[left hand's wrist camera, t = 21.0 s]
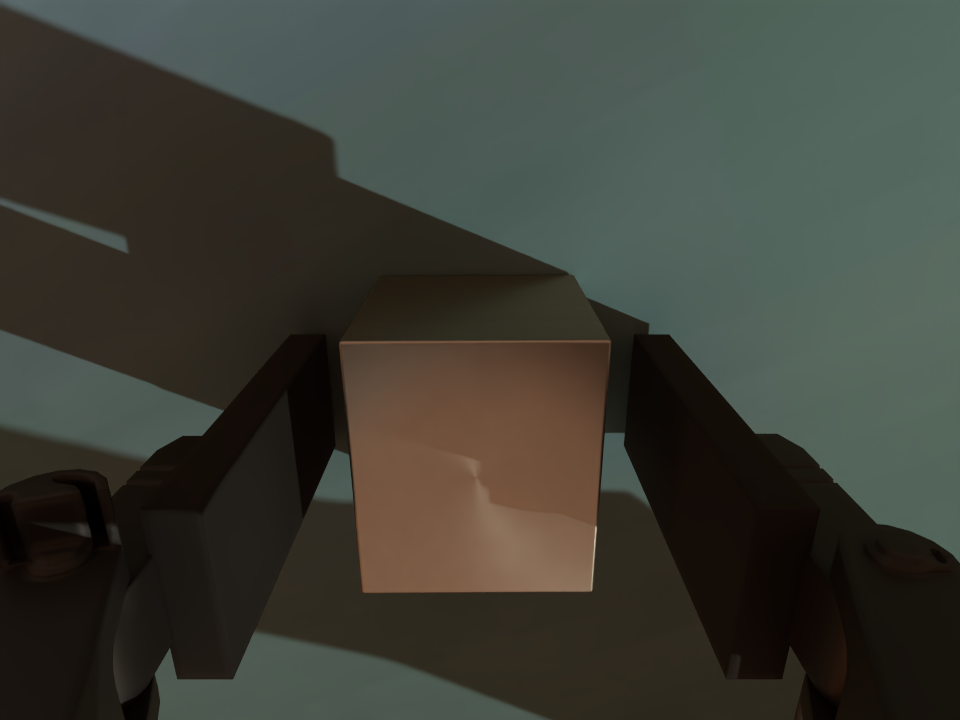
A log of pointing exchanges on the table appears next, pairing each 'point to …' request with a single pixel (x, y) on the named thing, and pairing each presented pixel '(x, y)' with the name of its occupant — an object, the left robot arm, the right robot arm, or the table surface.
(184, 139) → the table surface
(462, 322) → the brick
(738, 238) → the table surface
